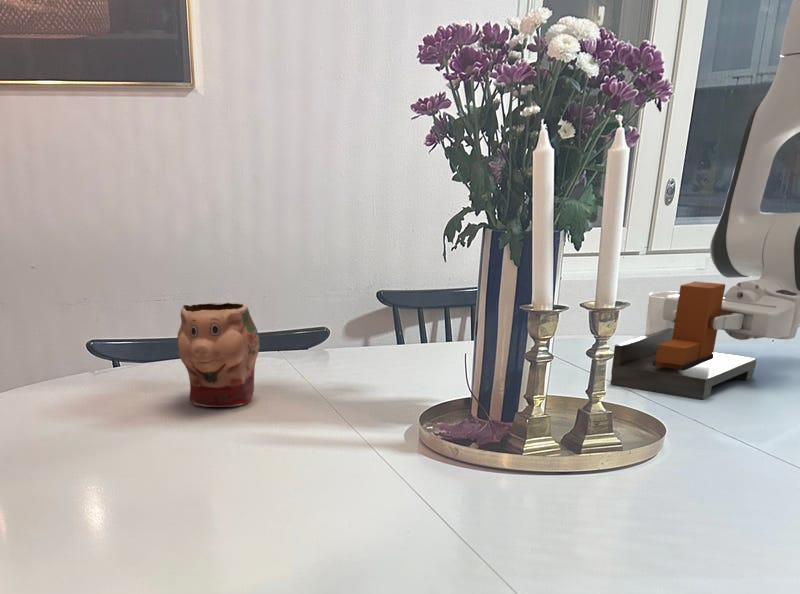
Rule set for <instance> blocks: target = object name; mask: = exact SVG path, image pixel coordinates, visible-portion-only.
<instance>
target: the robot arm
mask: <svg viewBox="0 0 800 594" xmlns="http://www.w3.org/2000/svg"><path fill="white" fill-rule="evenodd" d="M785 23H786V24H785V28H784V33H783V37H782V41H781V47H780V54H779V61H778V66H777V70H776V73H775V76H774V78H773V81H772V83H771V86H770V88H769V90H768V91H767V93H766V95H765V97H764V98H763V99H762V100H761V101H759V102H758V103H757V104H756V105H755V106H754V108H753V110H752V111H751V113H750V116H749V118H748V121H747V124H746V128H745V130H744V133H743V137H742V141H741V144H740V148H739V151H738V154H737V158H736V162H735V165H734V170H733V173H732V177H731V180H730V185H729V188H728V191H727V195H726V199H725V203H724V206H723V210H722V213H721V215H720V218H719V220H718V223H717V225H716V226H715V229H714V232H713V234H712V236H711V237H712V238H711V240H710V245H709V255H710V258H711V262H712V263H713V265H714V266H715V269H716V270H717V271H718V272H719V274H720V275H721V276H723V277H725V278H729V279H731V278H733V279H735V278H749V277H755V278H758V279H750V280H745V281H741V282H737V283H735V284H733V285H732V286H731V287H730V288H729V289H727V291H726V292H725V293H724V296H723V302H722V307H721V313H720V316H718V315H715V316H711V317H710V318H709V324H708V328H709V329H714V330H717V331H720V330H722V331H724V332H725V333H726V334H727V335H728V336H729V337H731V338H733V339H735V340H739V341H746V340H751V339H753V340H756V339H757V340H758V339H761V338H762V339H764V338H766V339H774V340H775V339H776V340H792V339H795V338H796V335H797V332H798V330H799V328H800V212H762V210H761V203H762V200H763V197H764V194H765V190H766V186H767V182H768V179H769V176H770V173H771V170H772V166H773V162H774V159H775V157H776V154H777V153H778V151H779V150H780V148H781V147H782V146H783V145H784V144H785V143H786V142H788V140H789V139H791V138H792V137H793V136H795V135H797V134H798V133H800V0H792V2H791V4H790V8H789V12H788V15H787V20H786V22H785ZM678 299H679V295H673V296H668V297H666V298H665V301H664V305H663V312H662V317H663V319H664V320H668V321H671V322H674V323H675V318H676V312H677V305H678Z"/></svg>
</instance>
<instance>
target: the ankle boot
mask: <svg viewBox="0 0 800 594" xmlns="http://www.w3.org/2000/svg"><path fill="white" fill-rule="evenodd" d="M725 290H726V283H716V282H706V281H692V282H688V283H685V284H680V286H679V292H680V293H679V299H678V305H677V312H676V318H675V324H674V331H673V337H672V340H670V341H667V342H664V343H661V344H658V347H657V354H656V360H654V361H653V366H658V367H664V368H671V369H677V370H686V369H689V368H691V367H694V366H697V365H699V364H702V363H704V362H707V361H709V360H712V359H713V358H714V354H713V353H715V352H714V350H715V345H716V339H717V334H718V330H714V329H709V328H708V324H709V318H710V317H711V316H715V315H718V316H720V313H721V307H722V302H723V297H724V295H725Z"/></svg>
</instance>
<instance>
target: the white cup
mask: <svg viewBox="0 0 800 594" xmlns="http://www.w3.org/2000/svg"><path fill="white" fill-rule="evenodd" d="M679 293H680V291H655V292H650V293H649V294H648V300H647V301H648V302H647V303H648V304H647V310H646V311H647V313H646V322H645V334H644V336H646V335H649V334H652V333H655V332H658V331H661V330H665V329H668V328H674V324H675V323H674V322H671V321H668V320H664V319H663V317H662V312H663V305H664V301H665V298H666V297H668V296H673V295H679Z"/></svg>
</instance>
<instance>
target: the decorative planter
mask: <svg viewBox="0 0 800 594" xmlns="http://www.w3.org/2000/svg"><path fill="white" fill-rule="evenodd" d="M180 321H181V324H180V325H179V329H178V332H177V338H176V344H177V345H176V346H177V354H178V356H179V359H180V360H181V363H183V365H184V367H185V369H186V371H187V375H188V380H189V387H190V388H189V402H190V403H192V402H193V403H192V404H193V405H196V406H201V407H212V408H213V407H215V408H217V407H218V408H224V407H225V408H227V407H237V406H242V405H246V404H248V403H250V402H251V401H252V399H253V396H254V391H255V369H256V363H257V359H258V355H259V351H260V335H259V332H258V328H257V327H256V324H255V323H254V321H253V319H252V316H251V314H250V310H249V308H248V306H247V305H246V304H244V303H239V302H238V303H237V302H223V303H220V302H219V303H218V302H217V303H216V302H209V303H197V304H196V303H195V304H190V305H187V304H183V306H182V307H181V310H180Z"/></svg>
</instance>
